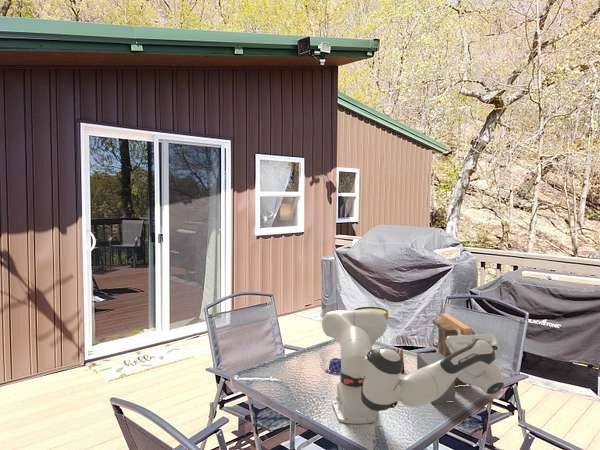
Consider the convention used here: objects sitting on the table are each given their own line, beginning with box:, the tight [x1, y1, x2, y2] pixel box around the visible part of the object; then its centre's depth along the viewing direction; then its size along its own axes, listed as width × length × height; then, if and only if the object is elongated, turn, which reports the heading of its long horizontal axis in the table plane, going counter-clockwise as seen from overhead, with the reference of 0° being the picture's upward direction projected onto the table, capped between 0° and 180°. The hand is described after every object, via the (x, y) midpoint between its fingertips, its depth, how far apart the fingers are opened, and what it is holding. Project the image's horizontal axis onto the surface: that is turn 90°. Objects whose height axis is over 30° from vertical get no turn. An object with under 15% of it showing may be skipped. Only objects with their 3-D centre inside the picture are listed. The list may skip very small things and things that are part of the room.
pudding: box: [328, 357, 341, 375], centre depth 223 cm, size 12×12×5 cm
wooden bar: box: [440, 313, 472, 335], centre depth 200 cm, size 24×3×3 cm, turn 5°
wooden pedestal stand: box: [432, 319, 466, 386], centre depth 206 cm, size 16×12×26 cm
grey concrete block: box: [416, 352, 456, 404], centre depth 193 cm, size 16×10×15 cm, turn 5°
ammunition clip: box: [393, 347, 405, 374], centre depth 217 cm, size 11×2×12 cm, turn 99°
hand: (464, 329), depth 191 cm, fingers open, 3 cm apart
